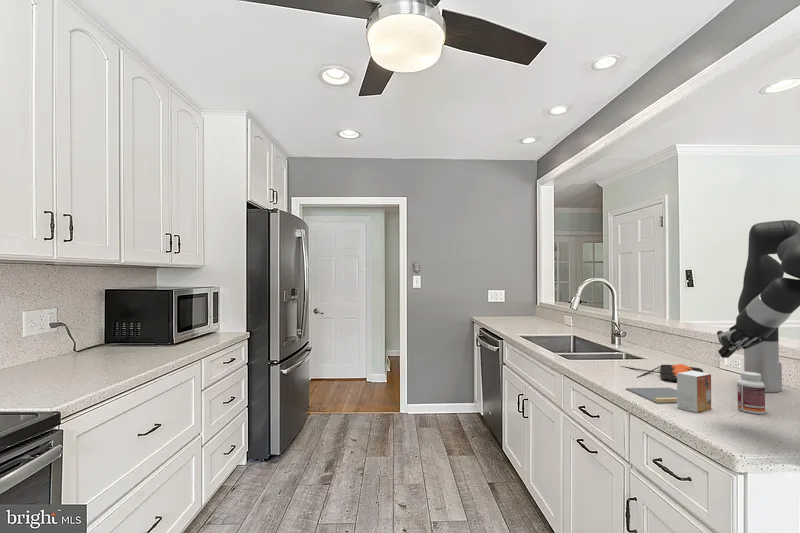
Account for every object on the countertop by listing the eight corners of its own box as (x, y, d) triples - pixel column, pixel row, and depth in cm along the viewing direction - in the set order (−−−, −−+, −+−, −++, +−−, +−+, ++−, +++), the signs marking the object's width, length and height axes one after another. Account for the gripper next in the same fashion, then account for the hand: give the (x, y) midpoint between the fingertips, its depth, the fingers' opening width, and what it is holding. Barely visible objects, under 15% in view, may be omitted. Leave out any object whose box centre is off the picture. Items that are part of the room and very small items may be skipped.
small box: (697, 413, 119) (696, 376, 119) (676, 407, 124) (676, 372, 124) (712, 409, 123) (711, 373, 123) (691, 404, 128) (691, 369, 128)
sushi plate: (709, 388, 147) (709, 378, 147) (614, 377, 163) (614, 367, 163) (701, 372, 172) (701, 363, 172) (620, 363, 188) (620, 355, 188)
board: (669, 388, 145) (669, 384, 145) (706, 402, 129) (706, 398, 129) (625, 389, 144) (625, 385, 144) (657, 403, 128) (657, 399, 128)
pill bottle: (771, 413, 119) (770, 375, 119) (754, 415, 117) (753, 376, 118) (748, 407, 125) (748, 370, 125) (732, 408, 124) (731, 371, 124)
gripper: (778, 303, 105) (736, 343, 117) (729, 302, 104) (691, 343, 116) (800, 326, 99) (754, 366, 111) (748, 326, 98) (707, 367, 110)
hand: (722, 355), depth 114 cm, fingers closed
